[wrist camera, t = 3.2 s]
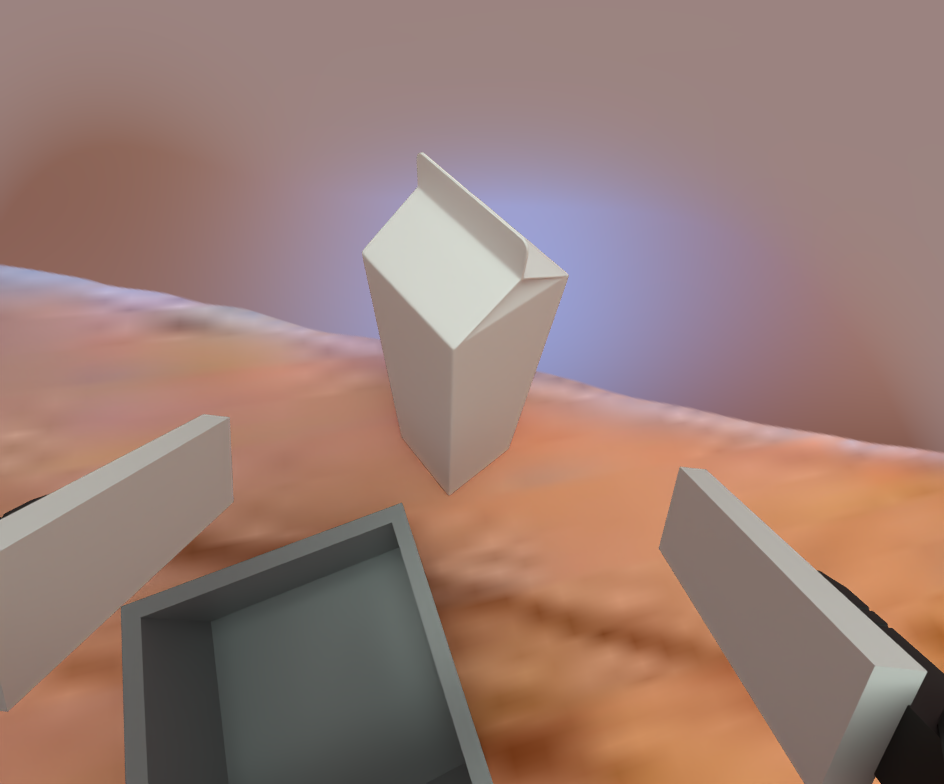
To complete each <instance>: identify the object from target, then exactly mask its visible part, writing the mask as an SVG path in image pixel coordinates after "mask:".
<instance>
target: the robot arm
mask: <svg viewBox="0 0 944 784" xmlns="http://www.w3.org/2000/svg"><path fill="white" fill-rule="evenodd" d="M233 502H234V498H233V477H232V456H231V434H230V417H223V416H214V415H205V414H203V415H201V416H199V417H197V418H195V419H193V420H192V421H190V422H188V423H186V424H184V425H182V426H180V427H178V428H176V429H174V430H172V431H170V432H168V433H166V434H165V435H163V436H161V437H159V438H157V439H155V440H153V441H151V442H149V443H147V444H145V445H143V446H141V447H139V448H138V449H136V450H134V451H132V452H130V453H128V454H126V455H124V456H122V457H120V458H118V459H116V460H114V461H113V462H111V463H109V464H107V465H105V466H103V467H101V468H99V469H97V470H95V471H93V472H91V473H89V474H87V475H86V476H84V477H82V478H80V479H78V480H76V481H74V482H72V483H70V484H68V485H66V486H64V487H62V488H60V489H59V490H57V491H55V492H53V493H51V494H48V495H45V496H42V497H39V498H36V499H33V500H31V501H29V502H27V503H25V504H23V505H21V506H19V507H17V508H15V509H13V510H11V511H9V512H7V513H5V514H4V515H3V517H2V518H1V517H0V711H5V712H8V711H9V710H10V709H11V708H12V707H13V706H14V705H16V704H17V703H18V702H19V701H20V700H21V699H22V698H23V697H24V696H25V695H26V694H27V693H28V692H30V691H31V690H32V689H33V688H34V687H35V686H36V685H37V684H38V683H39V682H40V681H41V680H42V679H44V678H45V677H46V676H47V675H48V674H49V673H50V672H51V671H52V670H53V669H54V668H55V667H56V666H58V665H59V664H60V663H61V662H62V661H63V660H64V659H65V658H66V657H67V656H68V655H69V654H70V653H72V652H73V651H74V650H75V649H76V648H77V647H78V646H79V645H80V644H81V643H82V642H83V641H84V640H86V639H87V638H88V637H89V636H90V635H91V634H92V633H93V632H94V631H95V630H96V629H97V628H98V627H99V626H101V625H102V624H103V623H104V622H105V621H106V620H107V619H108V618H109V617H110V616H111V615H112V614H113V613H115V612H116V611H117V610H118V609H119V608H120V607H121V606H122V605H123V604H124V603H125V602H126V601H127V600H129V599H130V598H131V597H132V596H133V595H134V594H135V593H136V592H137V591H138V590H139V589H140V588H141V587H143V586H144V585H145V584H146V583H147V582H148V581H149V580H150V579H151V578H152V577H153V576H154V575H155V574H157V573H158V572H159V571H160V570H161V569H162V568H163V567H164V566H165V565H166V564H167V563H168V562H169V561H171V560H172V559H173V558H174V557H175V556H176V555H177V554H178V553H179V552H180V551H181V550H182V549H183V548H184V547H186V546H187V545H188V544H189V543H190V542H191V541H192V540H193V539H194V538H195V537H196V536H197V535H198V534H200V533H201V532H202V531H203V530H204V529H205V528H206V527H207V526H208V525H209V524H210V523H211V522H212V521H214V520H215V519H216V518H217V517H218V516H219V515H220V514H221V513H222V512H223V511H224V510H225V509H226V508H228V507H229V506H230V505H231V504H232V503H233ZM659 550H660V551H661V553H662V554H663V556H664V558H665V559H666V561H667V563H668V564H669V566H670V567H671V569H672V571H673V572H674V574H675V575H676V577H677V579H678V580H679V582H680V584H681V585H682V587H683V588H684V590H685V592H686V593H687V595H688V596H689V598H690V600H691V601H692V603H693V604H694V606H695V608H696V609H697V611H698V613H699V614H700V616H701V617H702V619H703V621H704V622H705V624H706V625H707V627H708V629H709V630H710V632H711V634H712V635H713V637H714V638H715V640H716V642H717V643H718V645H719V646H720V648H721V650H722V651H723V653H724V654H725V656H726V658H727V659H728V661H729V663H730V664H731V666H732V667H733V669H734V671H735V672H736V674H737V675H738V677H739V679H740V680H741V682H742V684H743V685H744V687H745V688H746V690H747V692H748V693H749V695H750V696H751V698H752V700H753V701H754V703H755V705H756V706H757V708H758V709H759V711H760V713H761V714H762V716H763V717H764V719H765V721H766V722H767V724H768V725H769V727H770V729H771V730H772V732H773V734H774V735H775V737H776V738H777V740H778V742H779V743H780V745H781V746H782V748H783V750H784V751H785V753H786V755H787V756H788V758H789V759H790V761H791V763H792V764H793V766H794V767H795V769H796V771H797V772H798V774H799V776H800V777H801V779H802V780H803V782H804V784H872V783H873V781H874V779H875V777H876V778H877V779H878V780H879V782H880V783H881V784H944V673H943V672H941V671H940V670H939V669H938V668H937V667H936V666H935V665H933V664H932V663H931V662H930V661H929V660H928V659H927V658H926V657H924V656H923V655H922V654H921V653H920V652H919V651H918V650H917V649H915V648H914V647H913V646H912V645H911V644H910V643H909V642H907V641H906V640H905V639H904V638H903V637H902V636H901V635H900V634H898V633H897V632H896V631H895V630H894V629H893V628H888V626H887V625H888V624H887V623H886V622H885V621H884V620H883V619H881V618H880V617H879V616H878V615H877V614H876V613H875V612H874V611H869V607H868V606H867V605H866V604H864V603H863V602H862V601H861V600H860V599H859V598H858V597H857V596H855V595H854V594H853V593H852V592H851V591H850V590H849V589H847V588H846V587H845V586H843V585H841V584H840V583H838V582H837V581H835V580H833V579H832V578H830V577H829V576H827V575H825V574H824V573H822V572H821V571H818V570H816V569H814V568H813V567H812V566H811V565H810V564H809V563H808V562H807V561H806V560H805V559H804V558H802V557H801V556H800V555H799V554H798V553H797V552H796V551H795V550H794V549H793V548H791V547H790V546H789V545H788V544H787V543H786V542H785V541H784V540H783V539H782V538H780V537H779V536H778V535H777V534H776V533H775V532H774V531H773V530H772V529H771V528H770V527H768V526H767V525H766V524H765V523H764V522H763V521H762V520H761V519H760V518H759V517H757V516H756V515H755V514H754V513H753V512H752V511H751V510H750V509H749V508H748V507H746V506H745V505H744V504H743V503H742V502H741V501H740V500H739V499H738V498H737V497H736V496H734V495H733V494H732V493H731V492H730V491H729V490H728V489H727V488H726V487H725V486H723V485H722V484H721V483H720V482H719V481H718V480H717V479H716V478H715V477H714V476H712V475H711V474H710V473H709V472H708V471H707V470H705V469H696V468H687V467H680V468H679V472H678V476H677V480H676V484H675V487H674V491H673V495H672V499H671V503H670V507H669V511H668V515H667V518H666V522H665V526H664V530H663V534H662V538H661V542H660V546H659Z"/></svg>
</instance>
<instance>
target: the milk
mask: <svg viewBox="0 0 944 784" xmlns="http://www.w3.org/2000/svg"><path fill="white" fill-rule="evenodd" d="M417 175H418V187H417V188H416V190H415V191H414V192H413V193H412V194H411V195H410V197H409V198H408V199H407V200H406V201H405V202H404V204H403V205H402V206H401V207H400V208H399V209H398V210H397V212H396V213H395V214H394V215H393V216H392V217H391V218H390V220H389V221H388V222H387V223H386V224H385V225H384V226H383V228H382V229H381V230H380V231H379V232H378V234H377V235H376V236H375V237H374V238H373V239H372V241H370V243H369V244H368V245H367V246H366V247H365V249H364V250H363V252H362V255H363V261H364V265H365V270H366V275H367V279H368V284H369V289H370V293H371V298H372V302H373V307H374V312H375V316H376V321H377V325H378V330H379V335H380V340H381V344H382V349H383V353H384V358H385V363H386V367H387V372H388V377H389V381H390V386H391V390H392V395H393V400H394V404H395V409H396V414H397V418H398V423H399V427H400V432H401V436H402V438H403V440H404V441H405V442H406V443H407V445H408V446H409V447H410V448H411V450H412V451H413V452H414V453H415V455H416V456H417V457H418V458H419V460H420V461H421V462H422V463H423V465H424V466H425V467H426V468H427V470H428V471H429V472H430V473H431V474H432V476H433V477H434V478H435V479H436V481H437V482H438V483H439V484H440V486H441V487H442V488H443V489H444V491H445V492H446V493H447V494H448V495H451V494H452V493H453V492H455V491H456V490H457V489H458V488H460V487H461V486H462V485H463V484H465V483H466V482H467V481H469V480H470V479H471V478H472V477H474V476H475V475H476V474H477V473H479V472H480V471H481V470H483V469H484V468H485V467H486V466H488V465H489V464H490V463H491V462H493V461H494V460H495V459H497V458H498V457H499V456H500V455H502V454H503V453H504V452H505V451H507V450H508V449H509V447H510V444H511V441H512V438H513V435H514V432H515V429H516V427H517V424H518V421H519V418H520V415H521V412H522V409H523V406H524V403H525V401H526V398H527V395H528V392H529V389H530V386H531V383H532V380H533V378H534V375H535V372H536V369H537V366H538V363H539V360H540V357H541V354H542V352H543V349H544V346H545V343H546V340H547V337H548V334H549V331H550V329H551V325H552V323H553V320H554V317H555V314H556V311H557V308H558V306H559V303H560V299H561V297H562V294H563V291H564V288H565V285H566V283H567V279H568V276H569V275H568V274H567V273H566V272H565V271H564V270H563V269H561V268H560V267H559V266H558V265H556V264H555V263H554V262H553V261H552V260H550V259H549V258H548V257H547V256H546V255H545V254H544V253H542V252H541V251H540V250H539V249H537V248H536V247H535V246H534V245H533V244H532V243H531V242H529V241H528V240H527V239H526V238H525V237H523V236H522V235H521V234H520V233H519V232H517V231H516V230H515V229H514V228H513V227H511V226H510V225H509V224H508V223H507V222H506V221H504V220H503V219H502V218H501V217H500V216H499V215H497V214H496V213H495V212H494V211H493V210H491V209H490V208H489V207H488V206H487V205H486V204H484V203H483V202H482V201H481V200H480V199H478V198H477V197H476V196H474V195H473V194H472V193H471V192H470V191H468V190H467V189H466V188H464V186H462V185H461V184H460V183H459V182H458V181H457V180H455V179H454V178H453V177H452V176H451V175H449V174H448V173H447V172H446V171H444V170H443V169H442V168H441V167H440V166H439V165H438V164H436V163H435V162H434V161H433V160H432V159H430V158H429V157H428V156H427V155H426V154H424V153H423V152H421V153H419V154H418V155H417Z"/></svg>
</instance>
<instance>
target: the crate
mask: <svg viewBox="0 0 944 784" xmlns="http://www.w3.org/2000/svg"><path fill="white" fill-rule="evenodd" d="M121 628H122V666H123V704H124V742H125V781H126V784H493V782H492V779H491V776H490V773H489V770H488V766H487V763H486V760H485V757H484V754H483V751H482V748H481V745H480V742H479V739H478V736H477V732H476V729H475V726H474V723H473V720H472V717H471V714H470V711H469V708H468V705H467V702H466V699H465V695H464V692H463V689H462V686H461V683H460V680H459V677H458V674H457V671H456V668H455V665H454V662H453V658H452V655H451V652H450V649H449V646H448V643H447V640H446V637H445V634H444V631H443V628H442V625H441V621H440V618H439V615H438V612H437V609H436V606H435V603H434V600H433V597H432V594H431V591H430V588H429V584H428V581H427V578H426V575H425V572H424V569H423V566H422V563H421V560H420V557H419V554H418V550H417V547H416V544H415V541H414V538H413V535H412V532H411V529H410V526H409V523H408V520H407V517H406V513H405V510H404V507H403V504H402V503H400V504H397V505H394V506H392V507H389V508H386V509H384V510H381V511H378V512H376V513H373V514H370V515H367V516H365V517H362V518H359V519H357V520H354V521H351V522H349V523H346V524H343V525H340V526H338V527H335V528H332V529H330V530H327V531H324V532H321V533H319V534H316V535H313V536H311V537H308V538H305V539H303V540H300V541H297V542H294V543H292V544H289V545H286V546H284V547H281V548H278V549H276V550H273V551H270V552H267V553H265V554H262V555H259V556H257V557H254V558H251V559H249V560H246V561H243V562H240V563H238V564H235V565H232V566H230V567H227V568H224V569H222V570H219V571H216V572H213V573H211V574H208V575H205V576H203V577H200V578H197V579H195V580H192V581H189V582H186V583H184V584H181V585H178V586H176V587H173V588H170V589H168V590H165V591H162V592H159V593H157V594H154V595H151V596H149V597H146V598H143V599H141V600H138V601H135V602H132V603H130V604H127V605H124V606H122V607H121Z"/></svg>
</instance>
